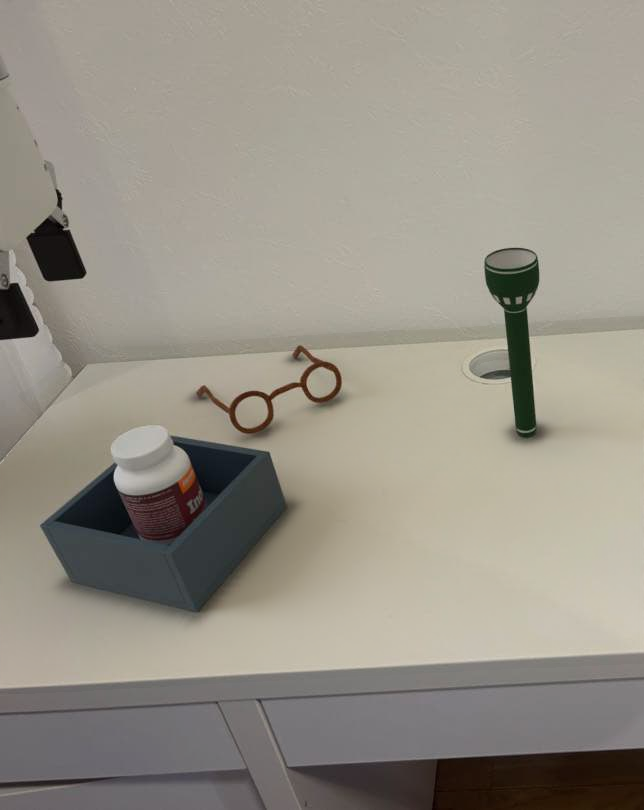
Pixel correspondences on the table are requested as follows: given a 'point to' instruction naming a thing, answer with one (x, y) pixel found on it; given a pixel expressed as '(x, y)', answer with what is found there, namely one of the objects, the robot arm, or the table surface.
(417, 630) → the table surface
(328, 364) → the glasses
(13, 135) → the robot arm
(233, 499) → the bin
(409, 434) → the table surface
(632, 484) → the table surface
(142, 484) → the pill bottle
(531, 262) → the flashlight
